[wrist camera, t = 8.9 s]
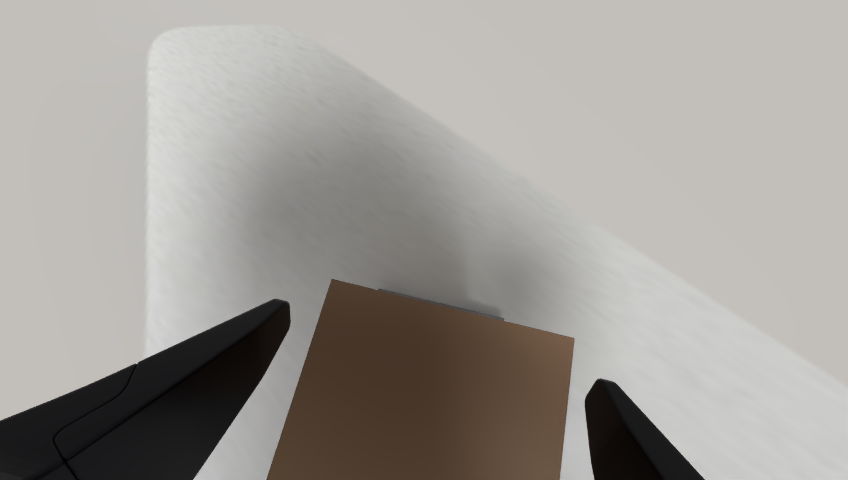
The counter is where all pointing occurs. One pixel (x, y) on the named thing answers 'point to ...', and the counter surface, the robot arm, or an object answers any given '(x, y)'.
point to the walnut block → (424, 395)
